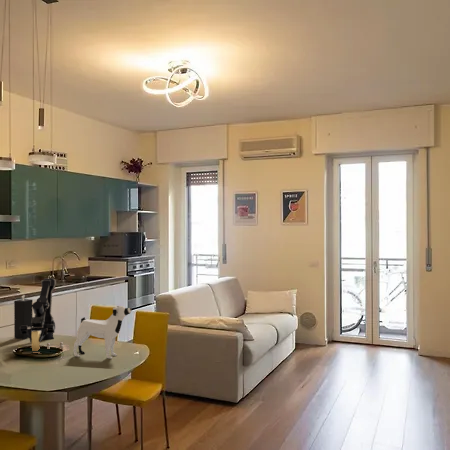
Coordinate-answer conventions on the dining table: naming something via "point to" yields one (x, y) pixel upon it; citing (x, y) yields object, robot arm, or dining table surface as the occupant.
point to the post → (35, 340)
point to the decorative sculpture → (101, 330)
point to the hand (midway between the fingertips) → (35, 341)
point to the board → (61, 346)
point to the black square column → (22, 316)
